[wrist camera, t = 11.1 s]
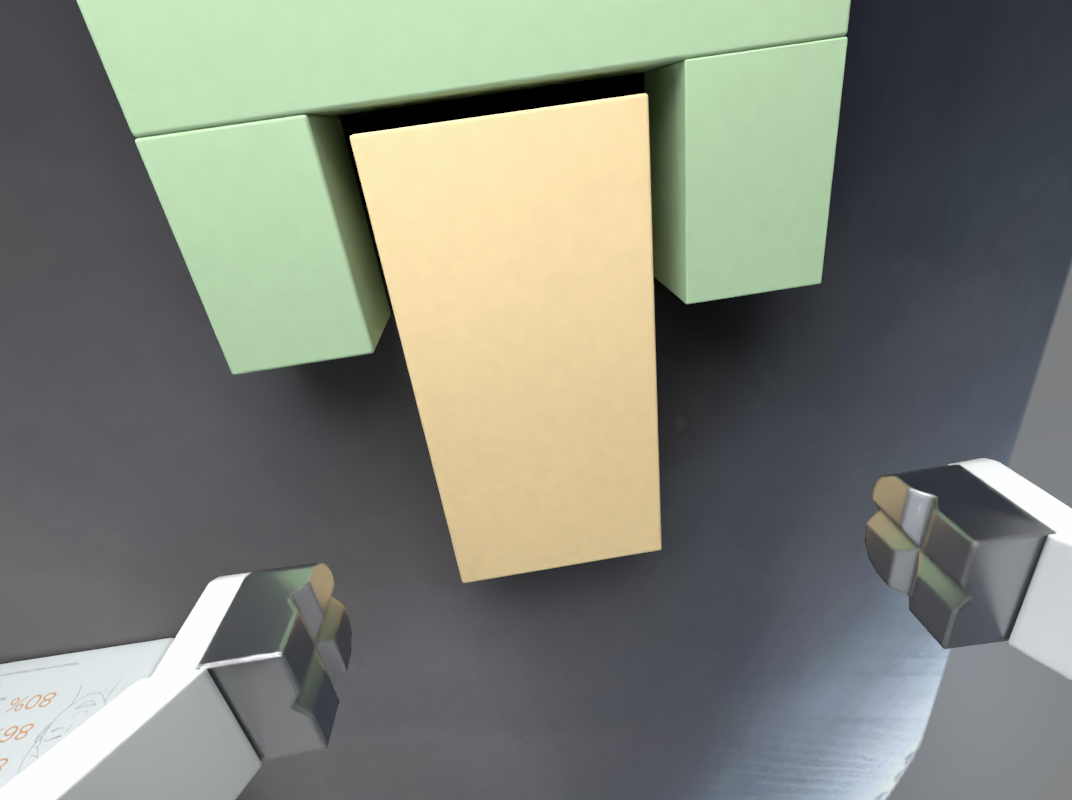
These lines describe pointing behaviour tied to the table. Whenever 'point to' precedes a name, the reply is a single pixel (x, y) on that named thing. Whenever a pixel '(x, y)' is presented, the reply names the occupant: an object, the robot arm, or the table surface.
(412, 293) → the beige pad
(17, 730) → the small box
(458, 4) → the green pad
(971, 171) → the table surface
